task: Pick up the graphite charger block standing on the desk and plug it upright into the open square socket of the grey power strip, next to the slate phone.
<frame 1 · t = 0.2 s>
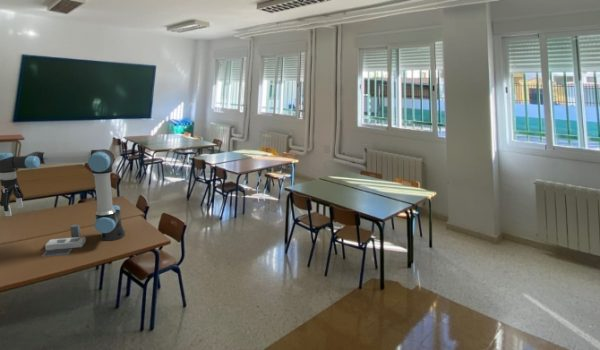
hand: (14, 211, 192), 27 cm above the table, fingers open, 13 cm apart
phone: (57, 253, 200), on the table
power strip: (66, 245, 210), on the table
charger: (76, 238, 220), on the table
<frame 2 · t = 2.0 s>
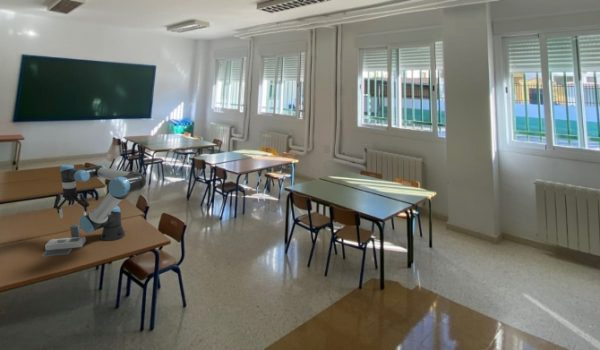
hand: (73, 216, 216), 16 cm above the table, fingers open, 13 cm apart
nothing on the table moved.
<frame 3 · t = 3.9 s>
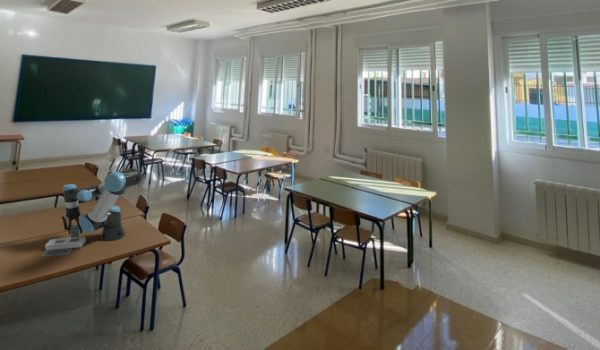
hand: (76, 237, 220), 1 cm above the table, fingers closed on charger, 4 cm apart
charger: (76, 238, 220), on the table, touching gripper
everything else where it was.
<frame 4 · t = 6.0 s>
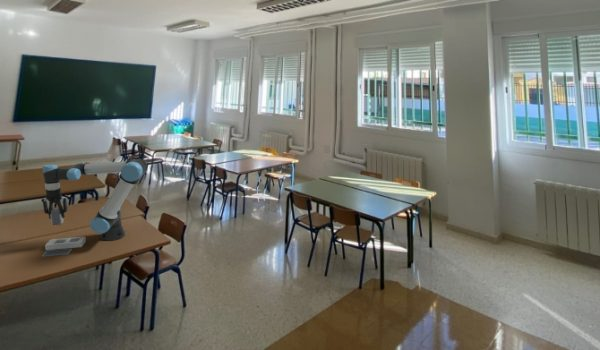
hand: (57, 222, 205), 17 cm above the table, fingers closed on charger, 4 cm apart
charger: (57, 223, 206), point 16 cm above the table, touching gripper
everything else where it was.
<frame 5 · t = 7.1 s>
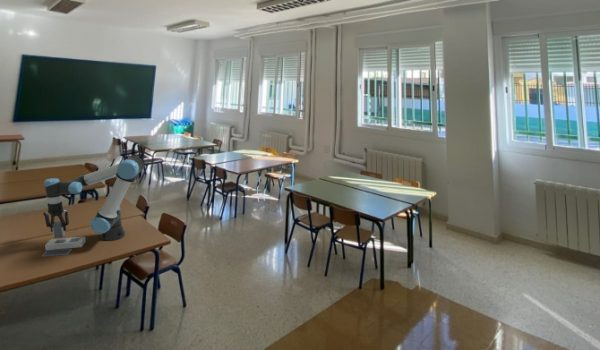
hand: (59, 235, 207), 8 cm above the table, fingers closed on charger, 4 cm apart
charger: (59, 236, 207), point 7 cm above the table, touching gripper
everything else where it was.
when the fingers open (5 cm above the table, at t = 7.9 s): charger drops 3 cm, resting on power strip.
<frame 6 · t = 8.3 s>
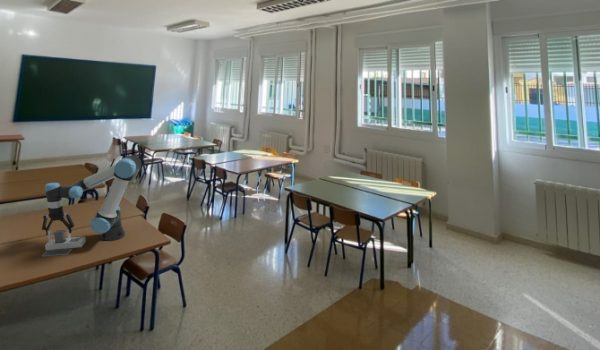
hand: (60, 238, 208), 6 cm above the table, fingers open, 10 cm apart
charger: (61, 245, 209), point 1 cm above the table, touching power strip
everything else where it was.
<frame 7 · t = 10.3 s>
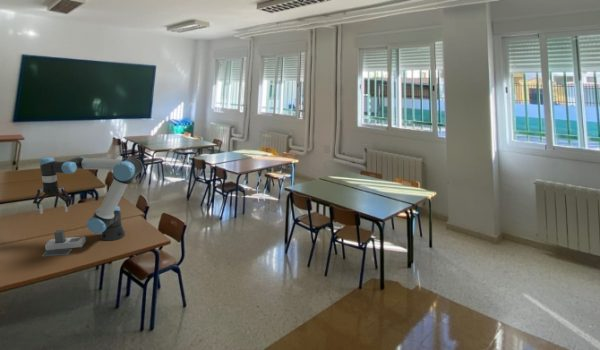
hand: (54, 212, 207), 23 cm above the table, fingers open, 13 cm apart
nothing on the table moved.
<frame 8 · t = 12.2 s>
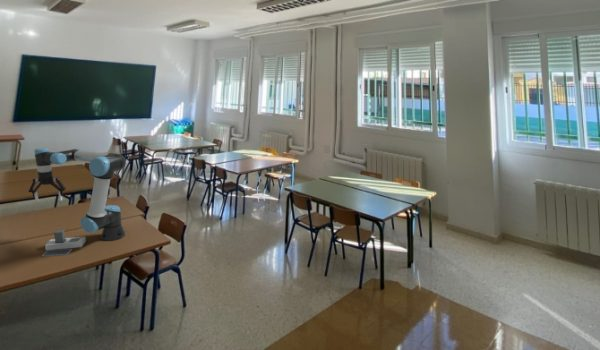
hand: (49, 201, 215), 27 cm above the table, fingers open, 13 cm apart
nothing on the table moved.
at the end: charger 0.1 cm from the target spot on the power strip, point 0.6 cm above the power strip's base; charger tilted 0°; the gripper is holding nothing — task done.
